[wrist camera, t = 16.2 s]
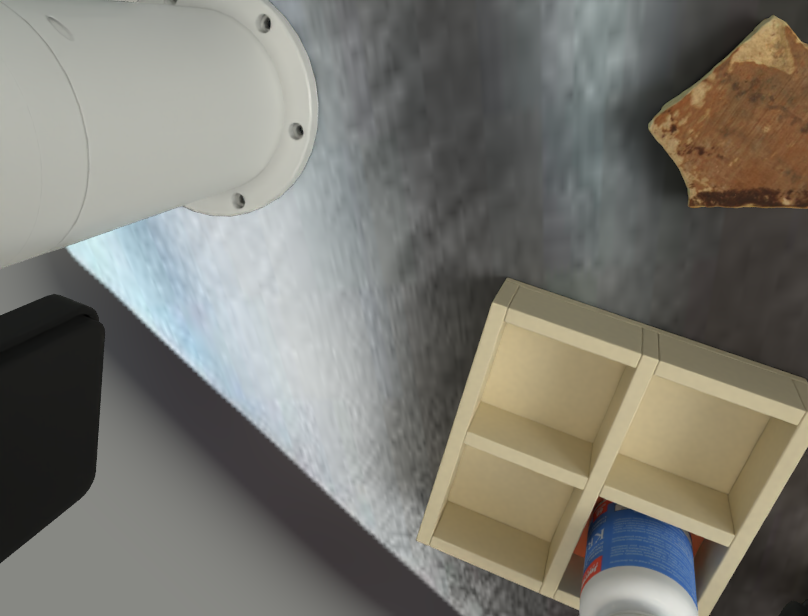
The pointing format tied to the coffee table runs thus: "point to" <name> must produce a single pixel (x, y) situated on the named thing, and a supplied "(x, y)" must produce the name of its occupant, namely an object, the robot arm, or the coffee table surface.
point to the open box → (607, 443)
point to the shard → (744, 125)
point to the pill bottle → (636, 566)
